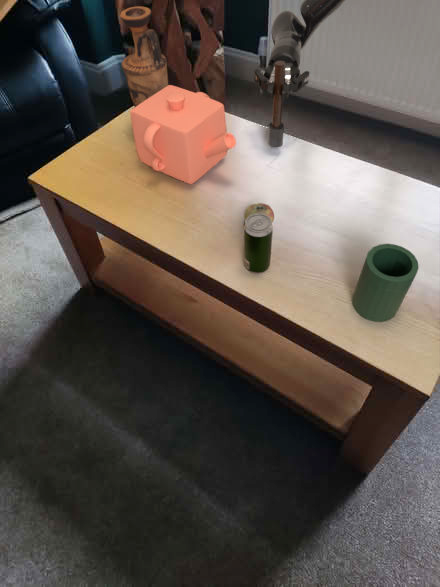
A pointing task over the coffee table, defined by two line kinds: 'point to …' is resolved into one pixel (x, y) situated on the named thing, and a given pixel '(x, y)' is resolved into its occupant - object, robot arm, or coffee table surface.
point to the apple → (259, 210)
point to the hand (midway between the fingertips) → (277, 96)
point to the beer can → (257, 243)
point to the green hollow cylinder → (384, 282)
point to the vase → (143, 57)
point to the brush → (277, 108)
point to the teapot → (181, 133)
